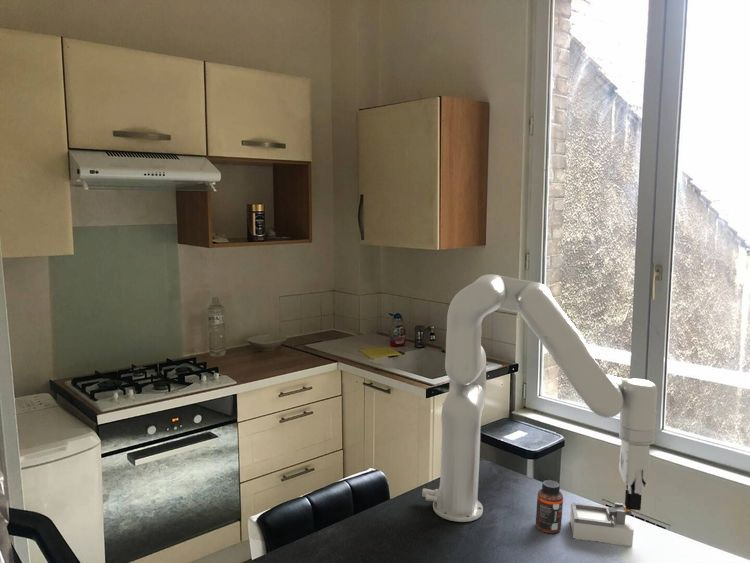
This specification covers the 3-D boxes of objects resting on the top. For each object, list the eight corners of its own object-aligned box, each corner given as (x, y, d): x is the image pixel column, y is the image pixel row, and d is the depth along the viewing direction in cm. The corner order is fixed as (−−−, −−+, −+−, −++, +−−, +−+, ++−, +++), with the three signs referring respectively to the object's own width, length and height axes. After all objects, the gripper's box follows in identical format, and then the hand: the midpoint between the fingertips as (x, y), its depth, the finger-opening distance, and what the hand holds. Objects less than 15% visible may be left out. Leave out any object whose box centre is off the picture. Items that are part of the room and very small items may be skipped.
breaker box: (573, 538, 144) (575, 509, 143) (570, 521, 152) (572, 493, 151) (632, 546, 141) (634, 517, 140) (625, 528, 149) (628, 500, 148)
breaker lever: (610, 516, 144) (609, 510, 144) (608, 511, 146) (608, 506, 146) (631, 515, 143) (631, 510, 143) (629, 510, 145) (629, 505, 145)
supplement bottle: (562, 536, 145) (565, 490, 143) (536, 532, 146) (539, 487, 145) (559, 523, 151) (562, 479, 149) (534, 520, 152) (537, 476, 150)
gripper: (614, 420, 150) (610, 491, 152) (625, 443, 135) (621, 522, 138) (647, 422, 148) (643, 495, 150) (662, 446, 134) (657, 526, 136)
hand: (632, 507), depth 144 cm, fingers closed
